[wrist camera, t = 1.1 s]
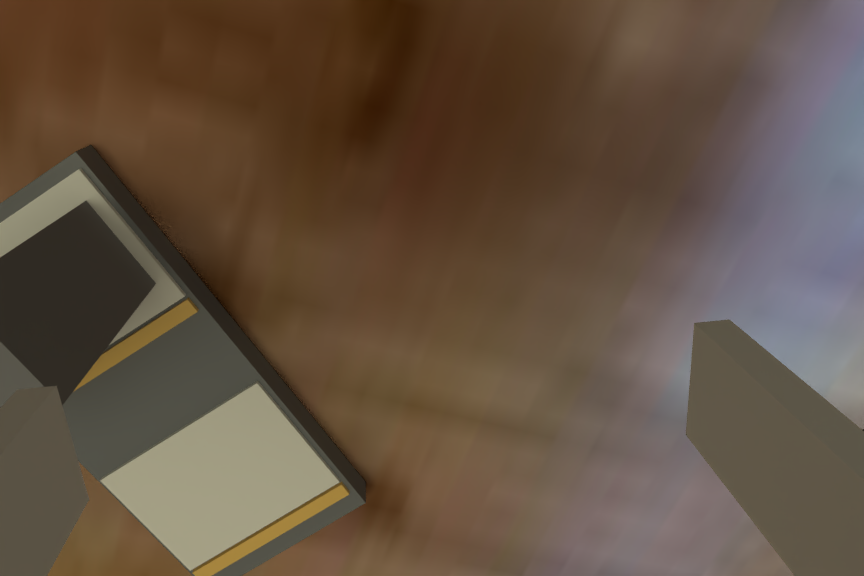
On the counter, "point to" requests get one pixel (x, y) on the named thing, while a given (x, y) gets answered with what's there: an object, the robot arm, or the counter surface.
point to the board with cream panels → (187, 402)
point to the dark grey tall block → (64, 302)
